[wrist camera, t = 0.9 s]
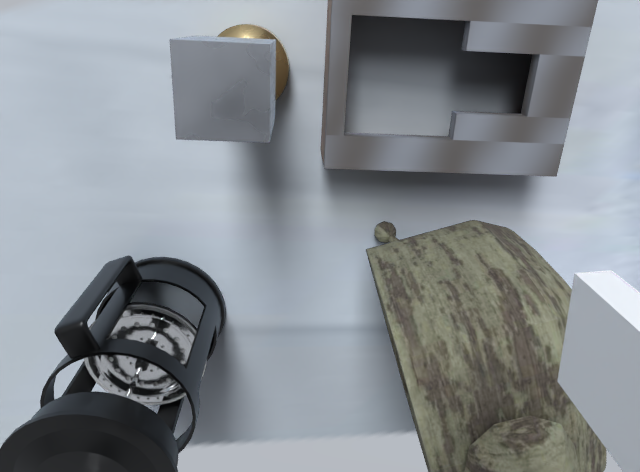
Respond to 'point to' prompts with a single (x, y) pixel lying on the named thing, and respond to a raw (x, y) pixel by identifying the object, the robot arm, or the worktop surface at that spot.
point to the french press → (122, 376)
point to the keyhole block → (469, 127)
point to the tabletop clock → (482, 350)
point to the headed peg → (228, 84)
